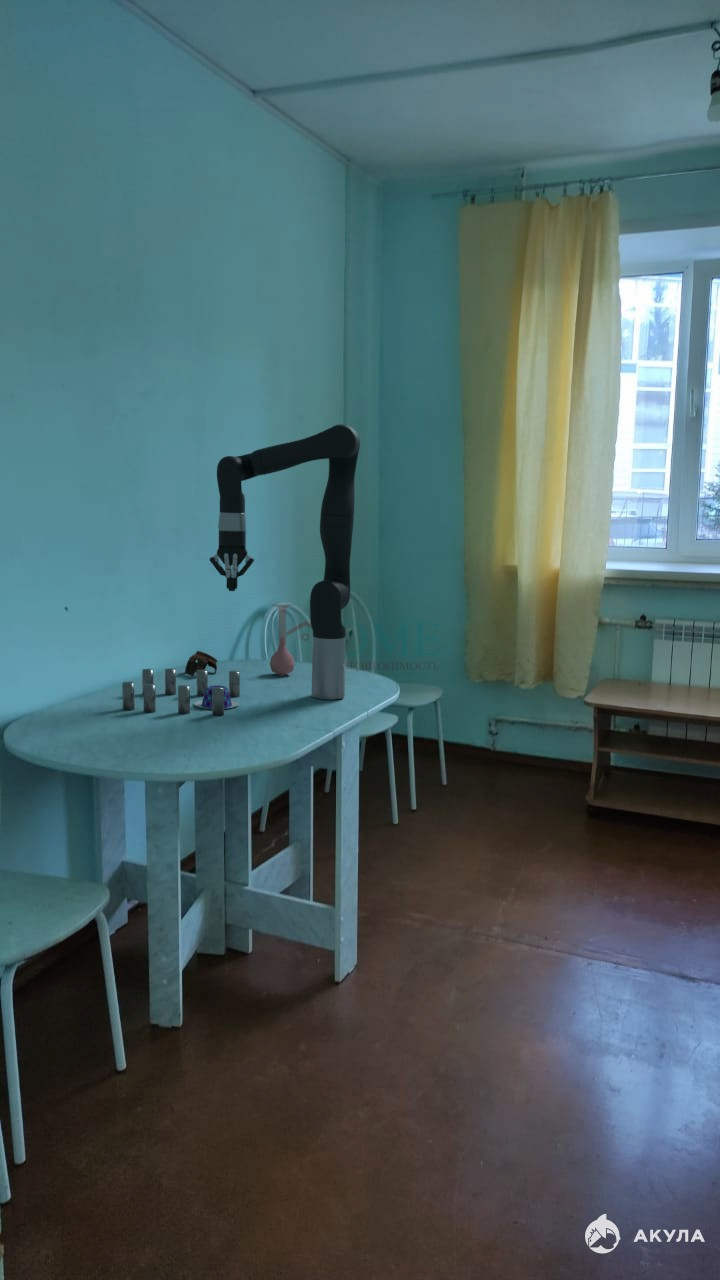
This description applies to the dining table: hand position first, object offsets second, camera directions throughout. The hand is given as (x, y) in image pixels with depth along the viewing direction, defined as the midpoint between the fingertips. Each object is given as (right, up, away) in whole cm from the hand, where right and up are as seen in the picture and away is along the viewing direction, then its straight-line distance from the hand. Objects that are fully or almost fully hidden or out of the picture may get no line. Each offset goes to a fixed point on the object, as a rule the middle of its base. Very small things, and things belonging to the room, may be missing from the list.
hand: (231, 590), depth 261 cm
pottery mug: (-14, -25, +27) cm, 39 cm away
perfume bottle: (+12, -25, +30) cm, 41 cm away
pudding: (-2, -32, -13) cm, 34 cm away
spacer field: (-12, -31, -12) cm, 35 cm away
